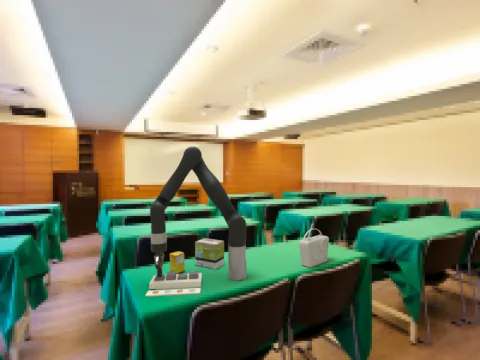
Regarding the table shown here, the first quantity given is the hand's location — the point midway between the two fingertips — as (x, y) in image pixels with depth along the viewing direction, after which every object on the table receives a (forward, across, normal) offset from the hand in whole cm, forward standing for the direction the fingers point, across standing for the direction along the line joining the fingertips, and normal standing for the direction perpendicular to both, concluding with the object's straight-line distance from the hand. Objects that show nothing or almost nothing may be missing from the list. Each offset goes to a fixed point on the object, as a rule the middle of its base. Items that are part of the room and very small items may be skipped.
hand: (159, 275), depth 137 cm
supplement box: (+5, +16, -6) cm, 18 cm away
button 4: (+3, 0, 0) cm, 3 cm away
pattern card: (+5, -10, -8) cm, 14 cm away
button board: (+5, 0, -8) cm, 9 cm away
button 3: (+2, 0, -6) cm, 6 cm away
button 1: (+2, 0, -17) cm, 17 cm away
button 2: (+3, 0, -11) cm, 12 cm away
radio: (+5, +20, -88) cm, 90 cm away
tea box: (+5, +26, -24) cm, 36 cm away
